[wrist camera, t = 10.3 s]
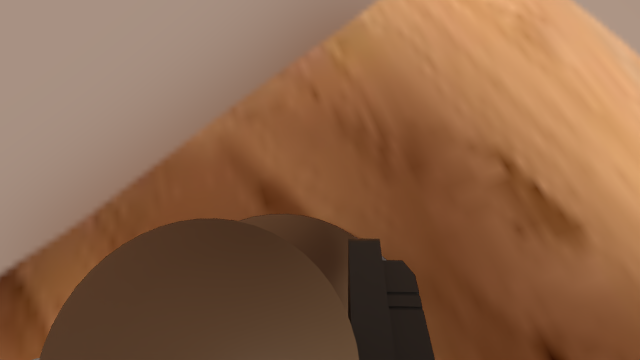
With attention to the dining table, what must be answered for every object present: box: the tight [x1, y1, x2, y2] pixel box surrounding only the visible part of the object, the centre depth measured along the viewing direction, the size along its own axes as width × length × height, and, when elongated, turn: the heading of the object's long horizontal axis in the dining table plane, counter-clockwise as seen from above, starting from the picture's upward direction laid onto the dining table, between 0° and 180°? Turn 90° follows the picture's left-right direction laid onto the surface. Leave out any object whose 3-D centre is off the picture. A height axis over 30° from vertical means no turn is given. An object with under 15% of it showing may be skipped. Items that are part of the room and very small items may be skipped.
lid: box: [39, 214, 359, 360], centre depth 9 cm, size 8×8×8 cm
